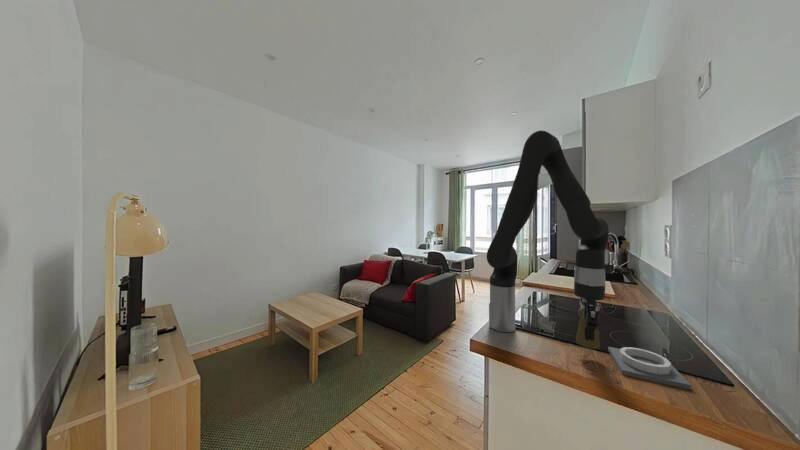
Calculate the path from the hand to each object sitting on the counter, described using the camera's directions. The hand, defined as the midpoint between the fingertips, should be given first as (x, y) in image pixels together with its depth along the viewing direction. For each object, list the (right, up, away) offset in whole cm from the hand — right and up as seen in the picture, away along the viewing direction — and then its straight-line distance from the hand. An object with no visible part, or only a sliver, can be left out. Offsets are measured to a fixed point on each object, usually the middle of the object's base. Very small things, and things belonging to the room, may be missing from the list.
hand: (587, 336), depth 74 cm
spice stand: (+12, -6, -5) cm, 15 cm away
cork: (0, -3, 0) cm, 3 cm away
